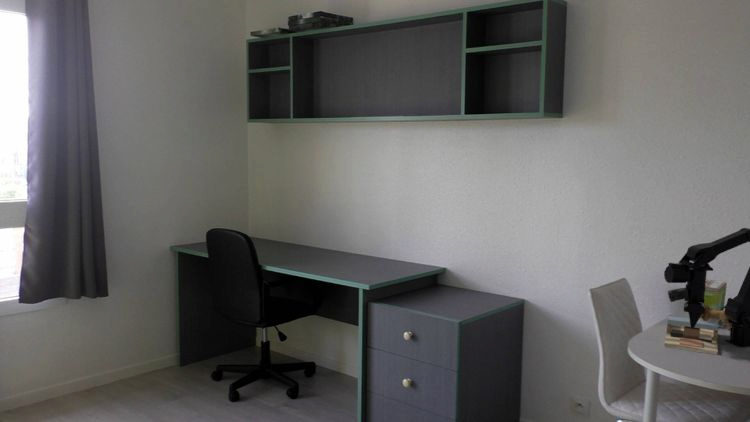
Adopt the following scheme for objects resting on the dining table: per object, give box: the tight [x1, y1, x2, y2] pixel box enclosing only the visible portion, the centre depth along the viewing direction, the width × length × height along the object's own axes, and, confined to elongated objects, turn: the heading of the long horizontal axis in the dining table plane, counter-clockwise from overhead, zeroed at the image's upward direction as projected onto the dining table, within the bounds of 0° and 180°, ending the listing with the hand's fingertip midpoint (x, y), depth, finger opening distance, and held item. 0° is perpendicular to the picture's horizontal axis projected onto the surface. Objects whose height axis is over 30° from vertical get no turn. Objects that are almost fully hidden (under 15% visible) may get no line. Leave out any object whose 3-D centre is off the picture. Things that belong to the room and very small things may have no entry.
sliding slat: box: [666, 315, 719, 332], centre depth 228 cm, size 5×16×2 cm, turn 63°
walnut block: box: [682, 326, 701, 340], centre depth 228 cm, size 5×5×4 cm
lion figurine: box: [700, 302, 732, 331], centre depth 243 cm, size 15×5×9 cm, turn 70°
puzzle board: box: [664, 314, 719, 356], centre depth 227 cm, size 26×16×5 cm, turn 153°
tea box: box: [688, 278, 727, 324], centre depth 253 cm, size 15×10×15 cm, turn 143°
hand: (692, 326), depth 222 cm, fingers closed
